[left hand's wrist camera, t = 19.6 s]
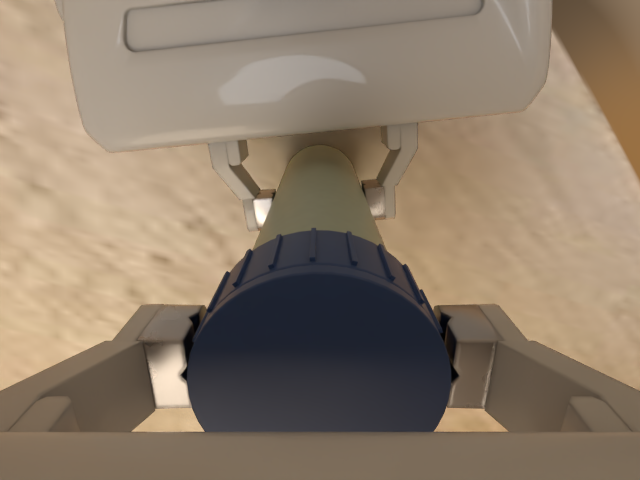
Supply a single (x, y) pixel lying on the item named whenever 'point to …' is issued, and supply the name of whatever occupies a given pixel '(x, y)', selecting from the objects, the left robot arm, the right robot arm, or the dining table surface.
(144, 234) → the dining table surface
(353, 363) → the lid
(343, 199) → the green bottle
